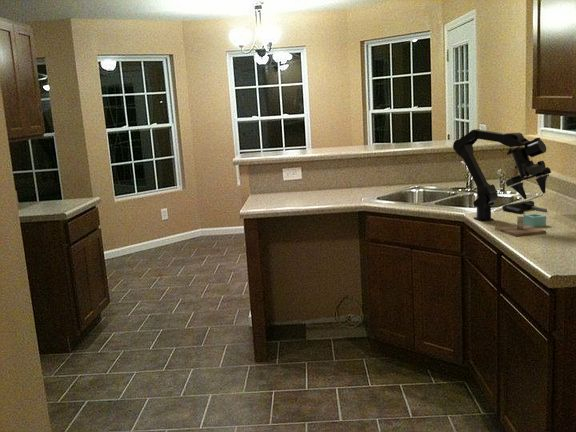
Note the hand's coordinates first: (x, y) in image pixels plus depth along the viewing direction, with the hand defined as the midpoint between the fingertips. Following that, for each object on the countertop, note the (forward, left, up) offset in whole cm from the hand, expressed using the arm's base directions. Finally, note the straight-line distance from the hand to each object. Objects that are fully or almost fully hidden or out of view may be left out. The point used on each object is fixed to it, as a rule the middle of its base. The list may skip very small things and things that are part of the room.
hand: (535, 196), depth 247 cm
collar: (-3, +3, -13) cm, 14 cm away
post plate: (+5, -11, -13) cm, 17 cm away
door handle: (-31, +20, -14) cm, 39 cm away
